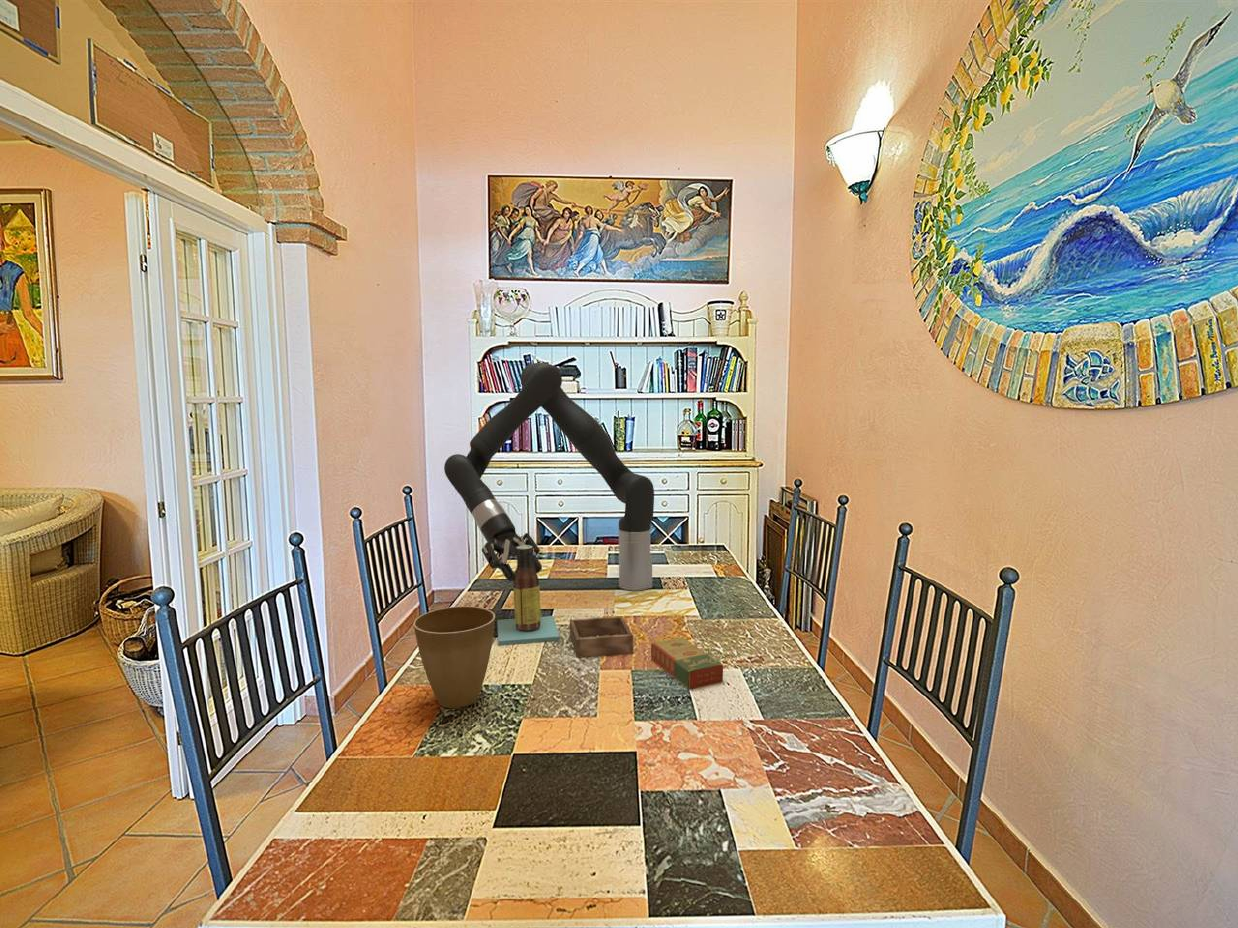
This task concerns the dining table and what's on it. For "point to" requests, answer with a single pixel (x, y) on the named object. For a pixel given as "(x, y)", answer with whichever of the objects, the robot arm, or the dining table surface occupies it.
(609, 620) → the frame
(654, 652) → the carton
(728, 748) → the dining table surface
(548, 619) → the teal board
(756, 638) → the dining table surface
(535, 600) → the sauce bottle
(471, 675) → the plant pot
